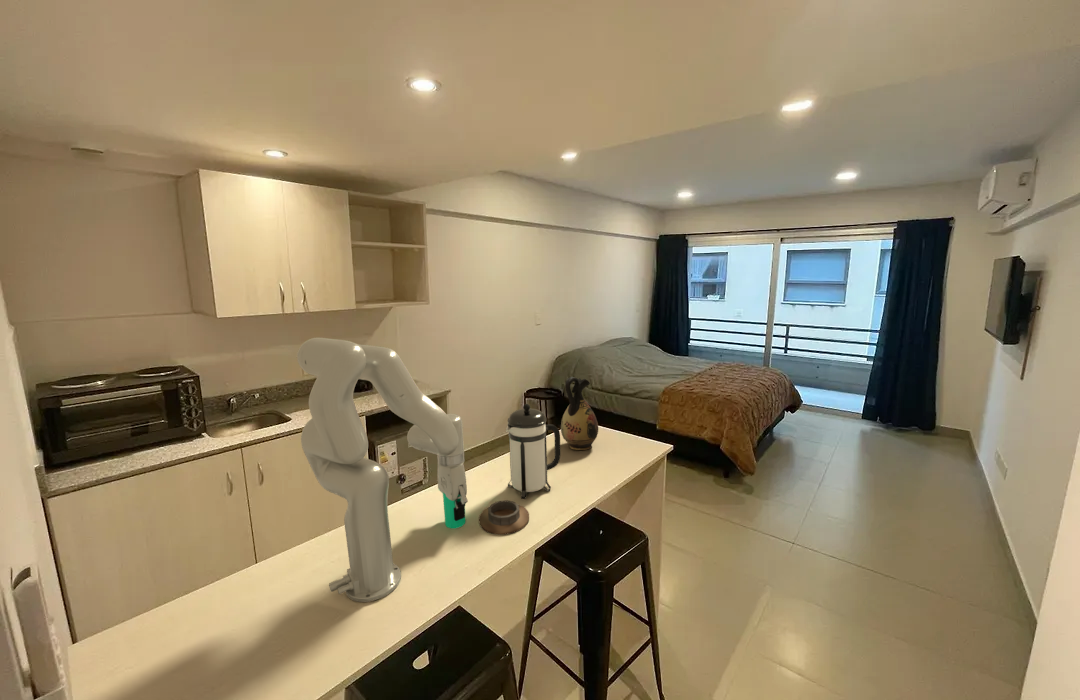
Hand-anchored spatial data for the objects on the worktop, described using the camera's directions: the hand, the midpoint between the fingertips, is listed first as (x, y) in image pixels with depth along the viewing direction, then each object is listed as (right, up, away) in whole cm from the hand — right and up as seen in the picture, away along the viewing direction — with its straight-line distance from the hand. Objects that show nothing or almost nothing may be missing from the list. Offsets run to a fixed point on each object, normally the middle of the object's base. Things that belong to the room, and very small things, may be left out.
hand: (454, 513), depth 129 cm
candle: (0, -3, +1) cm, 3 cm away
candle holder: (+14, -2, +2) cm, 15 cm away
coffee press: (+22, +1, +20) cm, 30 cm away
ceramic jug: (+41, +8, +52) cm, 67 cm away
